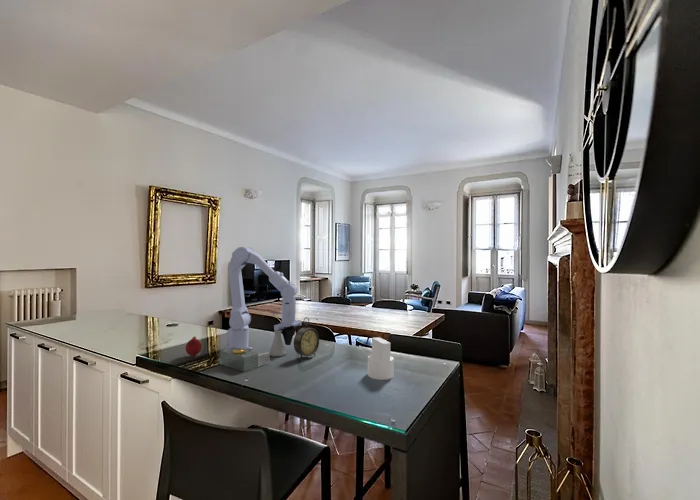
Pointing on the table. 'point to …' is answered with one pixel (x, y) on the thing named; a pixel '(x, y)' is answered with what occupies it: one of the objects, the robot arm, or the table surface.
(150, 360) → the table surface
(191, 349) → the onion
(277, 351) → the flask
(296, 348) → the alarm clock
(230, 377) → the table surface
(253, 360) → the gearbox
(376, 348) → the base with upright slab
